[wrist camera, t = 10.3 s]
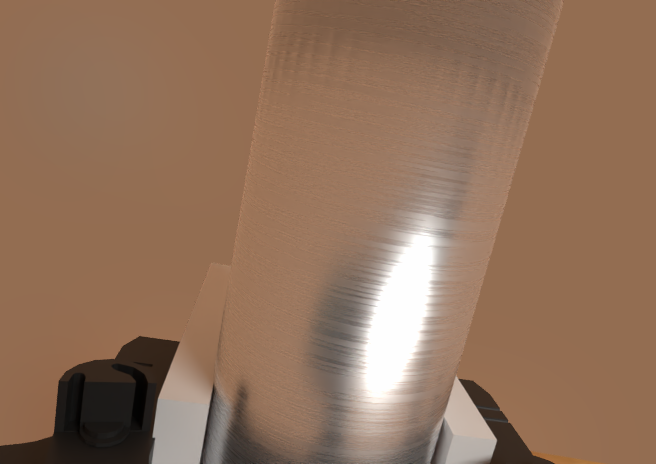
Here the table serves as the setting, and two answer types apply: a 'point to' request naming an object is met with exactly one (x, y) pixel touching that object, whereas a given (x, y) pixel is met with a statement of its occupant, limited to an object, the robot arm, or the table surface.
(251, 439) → the long steel pin
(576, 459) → the table surface
